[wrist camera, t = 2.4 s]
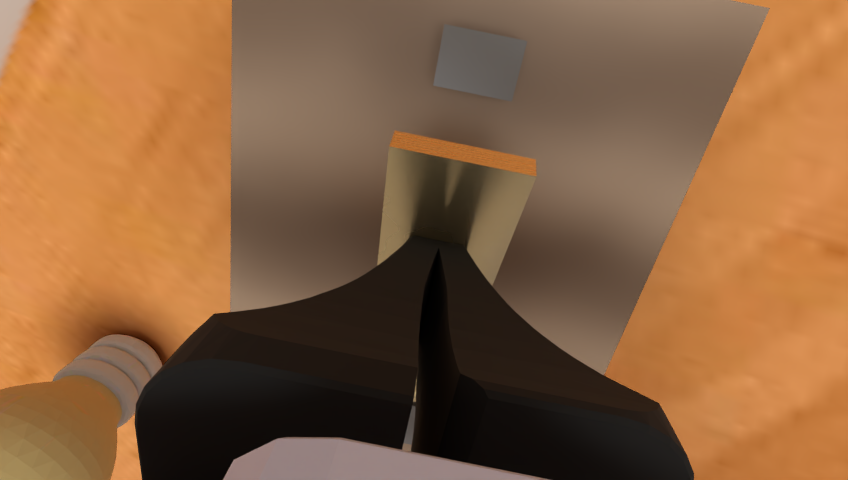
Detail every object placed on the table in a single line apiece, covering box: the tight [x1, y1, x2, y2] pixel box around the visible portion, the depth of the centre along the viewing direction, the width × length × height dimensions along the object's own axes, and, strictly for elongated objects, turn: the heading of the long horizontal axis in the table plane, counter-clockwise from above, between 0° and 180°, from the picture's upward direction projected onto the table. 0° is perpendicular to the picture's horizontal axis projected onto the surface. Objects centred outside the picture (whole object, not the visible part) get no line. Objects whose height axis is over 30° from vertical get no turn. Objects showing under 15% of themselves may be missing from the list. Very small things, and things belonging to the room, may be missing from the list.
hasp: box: [377, 131, 537, 402], centre depth 13 cm, size 11×3×1 cm, turn 170°
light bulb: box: [0, 334, 162, 480], centre depth 19 cm, size 6×6×10 cm
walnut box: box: [230, 0, 770, 452], centre depth 16 cm, size 18×14×6 cm
